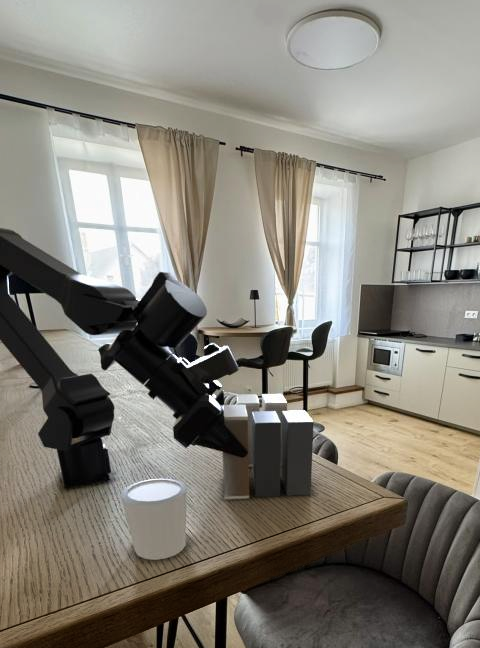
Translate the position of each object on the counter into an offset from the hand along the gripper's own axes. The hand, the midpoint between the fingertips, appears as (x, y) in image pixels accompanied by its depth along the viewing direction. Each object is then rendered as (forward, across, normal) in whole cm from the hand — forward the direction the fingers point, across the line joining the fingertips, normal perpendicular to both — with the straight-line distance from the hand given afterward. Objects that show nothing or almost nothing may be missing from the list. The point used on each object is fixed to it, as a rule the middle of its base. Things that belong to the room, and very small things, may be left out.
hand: (244, 446), depth 59 cm
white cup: (-2, -15, +12) cm, 19 cm away
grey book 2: (+10, 0, -1) cm, 10 cm away
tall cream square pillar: (+4, 0, +6) cm, 7 cm away
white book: (+9, +12, +1) cm, 15 cm away
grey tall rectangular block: (+6, +12, +4) cm, 14 cm away
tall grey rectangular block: (+7, 0, +2) cm, 7 cm away
